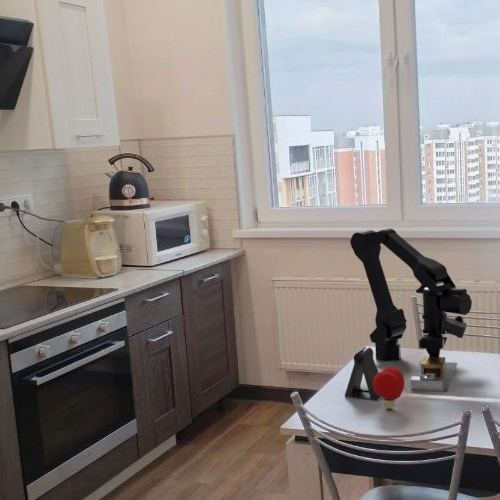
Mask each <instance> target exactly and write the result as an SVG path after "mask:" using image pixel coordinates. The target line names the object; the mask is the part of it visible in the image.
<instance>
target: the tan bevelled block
mask: <svg viewBox="0 0 500 500" xmlns="http://www.w3.org/2000/svg"><path fill="white" fill-rule="evenodd" d="M421 361H422V363H421V375H424V374H426V372H427V370H437V372H440V375H441V378H444V375H445V372H446V366H445V362H446V357H445V356H439V357H430V356H423V359H422V360H421Z"/></svg>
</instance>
